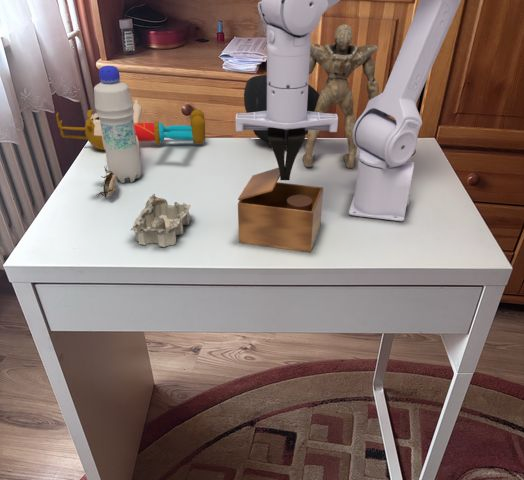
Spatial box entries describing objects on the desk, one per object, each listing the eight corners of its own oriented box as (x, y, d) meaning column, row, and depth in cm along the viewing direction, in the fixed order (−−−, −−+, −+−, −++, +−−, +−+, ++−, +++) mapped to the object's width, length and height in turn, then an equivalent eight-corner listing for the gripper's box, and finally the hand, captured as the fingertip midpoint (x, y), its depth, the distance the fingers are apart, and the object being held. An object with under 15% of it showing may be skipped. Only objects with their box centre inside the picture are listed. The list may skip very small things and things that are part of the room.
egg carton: (156, 213, 96) (153, 191, 93) (196, 219, 94) (194, 197, 92) (128, 243, 88) (124, 220, 86) (171, 250, 87) (168, 227, 84)
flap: (238, 200, 84) (237, 198, 84) (253, 177, 90) (252, 175, 90) (272, 190, 81) (271, 189, 81) (285, 167, 88) (284, 165, 87)
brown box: (238, 242, 89) (237, 203, 84) (253, 217, 95) (252, 179, 90) (310, 252, 86) (313, 212, 82) (320, 225, 93) (323, 187, 88)
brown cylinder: (312, 229, 91) (314, 196, 87) (307, 242, 88) (309, 207, 84) (288, 226, 92) (289, 193, 88) (283, 238, 89) (284, 204, 85)
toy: (209, 140, 107) (48, 138, 102) (208, 179, 113) (57, 179, 109) (201, 84, 123) (61, 81, 118) (201, 121, 129) (68, 119, 125)
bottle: (147, 171, 109) (132, 61, 96) (138, 186, 104) (120, 72, 91) (114, 170, 109) (94, 60, 96) (104, 184, 104) (81, 70, 91)
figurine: (367, 153, 116) (389, 18, 99) (373, 169, 110) (398, 29, 93) (284, 151, 115) (292, 15, 98) (286, 168, 109) (295, 26, 92)
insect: (101, 170, 95) (118, 176, 95) (106, 159, 102) (122, 164, 103) (93, 202, 97) (110, 208, 98) (99, 189, 105) (115, 194, 106)
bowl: (278, 107, 103) (293, 59, 103) (217, 117, 114) (231, 74, 115) (327, 154, 115) (341, 111, 116) (268, 159, 127) (280, 119, 127)
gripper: (337, 74, 78) (330, 167, 87) (236, 74, 78) (238, 166, 87) (342, 90, 73) (333, 186, 82) (233, 89, 73) (236, 186, 82)
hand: (284, 177), depth 84 cm, fingers closed
